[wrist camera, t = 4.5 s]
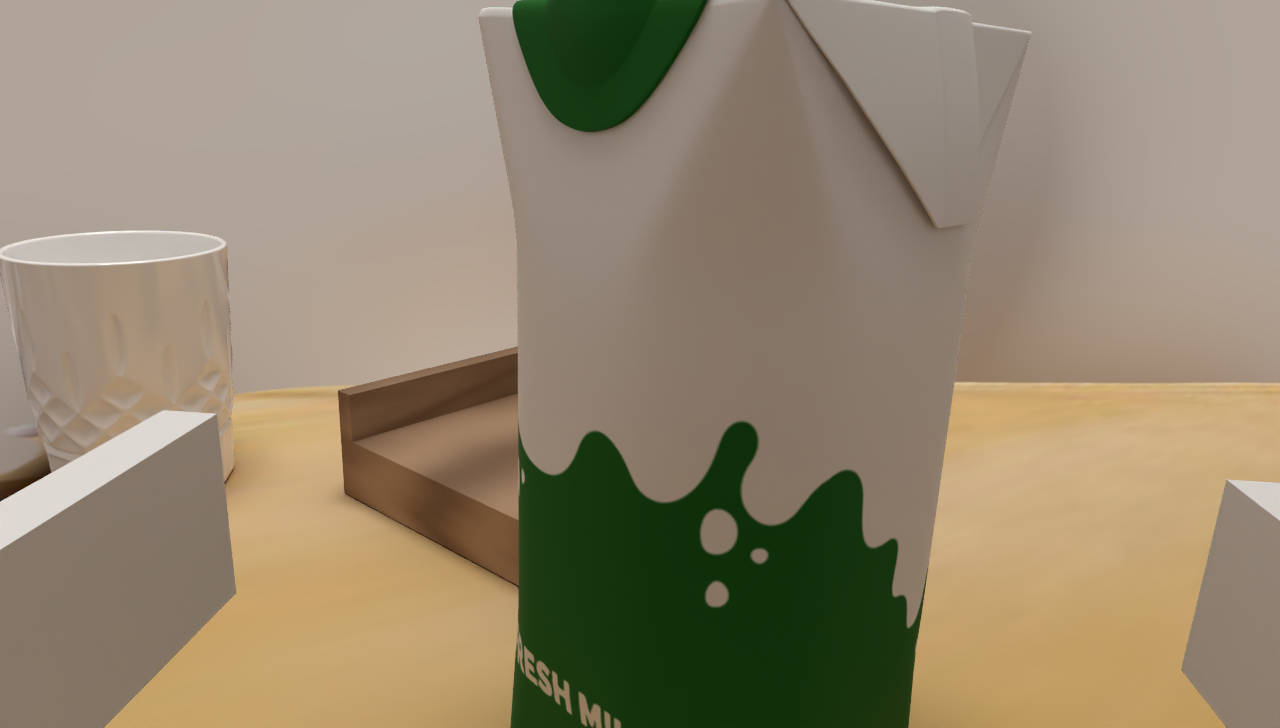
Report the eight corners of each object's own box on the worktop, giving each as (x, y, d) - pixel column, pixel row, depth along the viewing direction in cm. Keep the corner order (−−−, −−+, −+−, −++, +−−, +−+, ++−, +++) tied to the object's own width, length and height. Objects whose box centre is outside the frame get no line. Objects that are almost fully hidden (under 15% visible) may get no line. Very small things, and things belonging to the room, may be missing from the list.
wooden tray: (810, 492, 40) (819, 394, 38) (587, 622, 29) (590, 494, 28) (579, 413, 48) (580, 331, 47) (344, 493, 38) (338, 390, 37)
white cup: (278, 449, 42) (259, 234, 39) (191, 527, 35) (160, 268, 32) (111, 441, 42) (81, 227, 40) (-11, 516, 35) (-60, 258, 32)
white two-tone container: (456, 768, 23) (431, -112, 17) (704, 636, 29) (747, -50, 23) (711, 1028, 17) (805, -207, 11) (959, 792, 23) (1105, -89, 17)
